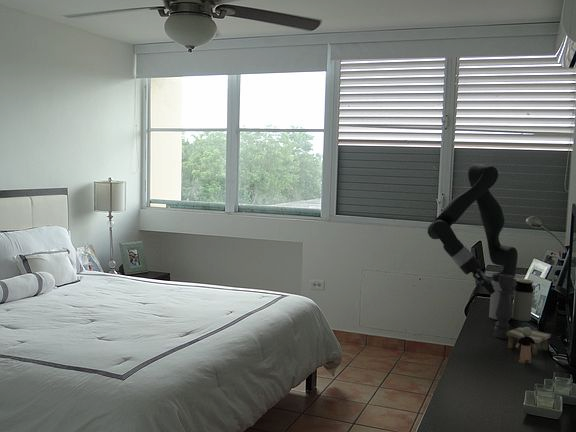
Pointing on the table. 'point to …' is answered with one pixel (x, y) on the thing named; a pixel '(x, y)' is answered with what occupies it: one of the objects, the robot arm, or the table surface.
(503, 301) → the candle holder
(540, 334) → the beige toy table
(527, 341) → the grandmother figurine
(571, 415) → the table surface
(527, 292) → the travel mug
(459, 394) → the table surface
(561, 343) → the table surface
